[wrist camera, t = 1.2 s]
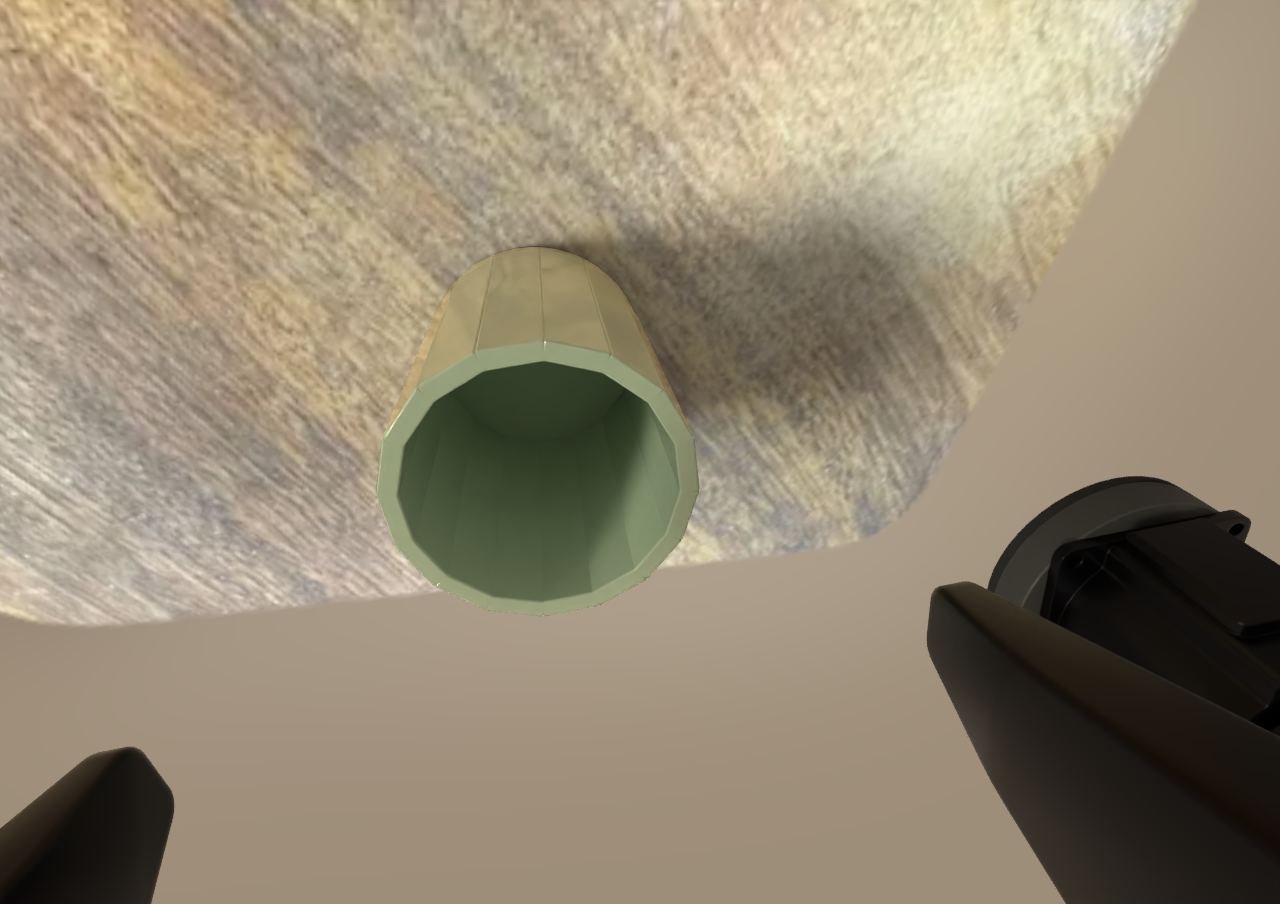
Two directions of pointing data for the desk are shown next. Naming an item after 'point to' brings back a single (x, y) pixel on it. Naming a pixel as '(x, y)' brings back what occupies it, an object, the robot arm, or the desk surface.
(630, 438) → the cup
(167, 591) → the desk surface
